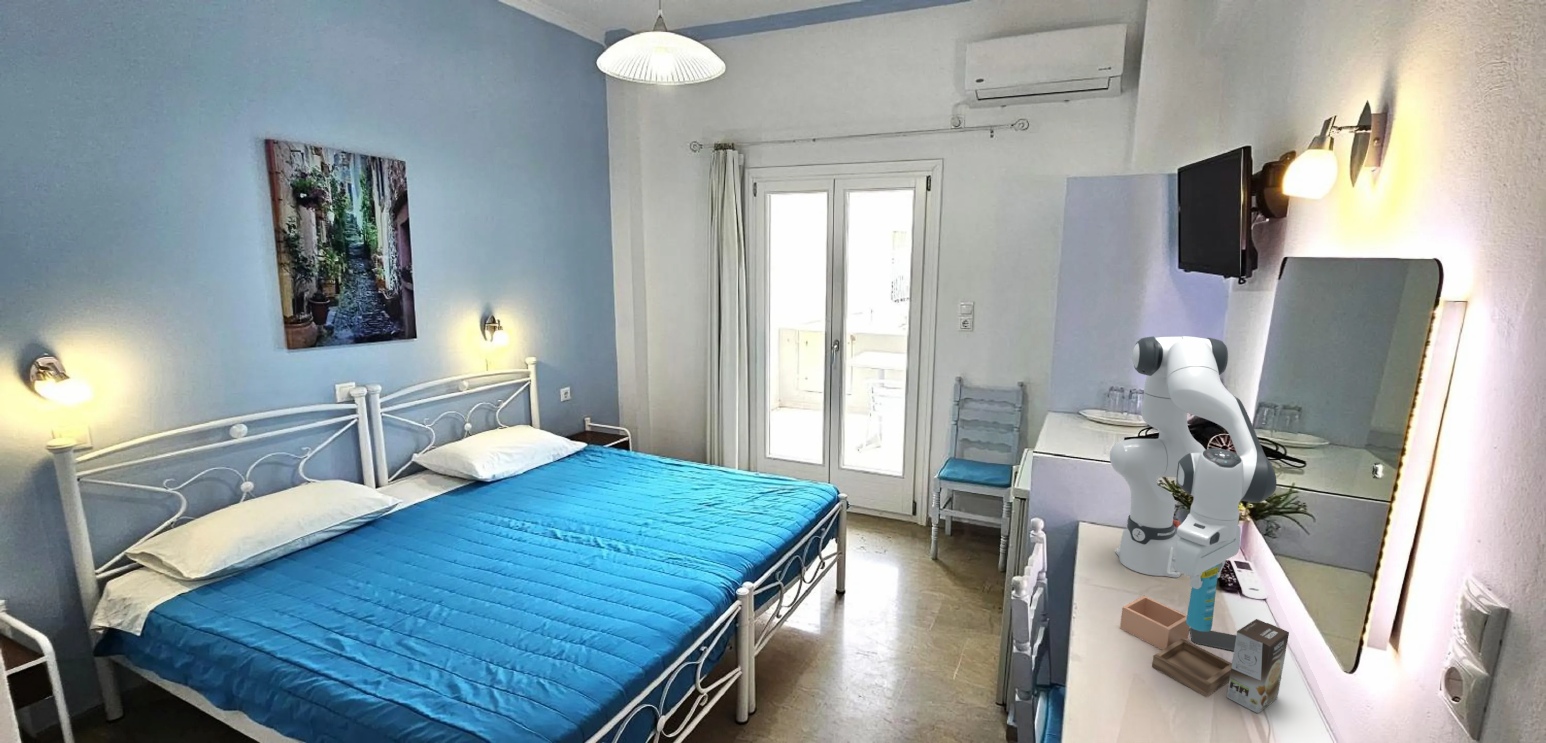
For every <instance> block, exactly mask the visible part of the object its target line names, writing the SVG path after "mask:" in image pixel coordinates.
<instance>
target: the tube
mask: <svg viewBox="0 0 1546 743" xmlns="http://www.w3.org/2000/svg"><path fill="white" fill-rule="evenodd" d="M1218 566H1219V564H1218V565H1216V566H1214V567H1212V568H1210V569H1208V570H1206V571H1204V572H1203V573H1202V575H1201V576H1200V578H1201V580H1202V581H1203V583H1202V587H1201V588H1199V589H1195V588H1193V587H1191V588H1190V595H1189V602H1188V608H1187V614H1186V615H1187V619H1186V623H1187V625H1188V626H1189V627H1191V628H1192V629H1195V630H1198V631H1204V632H1205V631H1206V632H1207V631H1210V630H1211V631H1212V628H1213V620H1214V619H1213V618H1214V612H1215V602H1216V601H1215V600H1216V595H1217V594H1216V592H1217V581H1218V578H1217V576H1218Z"/></svg>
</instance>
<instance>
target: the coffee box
mask: <svg viewBox="0 0 1546 743" xmlns="http://www.w3.org/2000/svg"><path fill="white" fill-rule="evenodd" d="M1289 634H1290V631H1287V630H1285V629H1284V628H1281V627H1279V626H1276V625H1273V624H1272V623H1269V622H1265V621H1263V620H1260V619H1258V618H1256V619H1254V620H1252V621H1251V622H1249V623H1248V624H1246V625H1244V626H1243V627H1241V628H1239V629H1238V630H1236V634H1235V635H1236V641H1235V647H1234V652H1232V653H1233V654H1232V661H1231V663H1232V666H1231V672H1230V679H1229V682H1228V686H1227V692H1226V698H1227V699H1229V700H1231V701H1233V702H1235V703H1236V704H1239V705H1241V706H1243V707H1244V708H1246V709H1248V710H1250V711H1252V712H1254V713H1256V714H1260V711H1261V712H1262V711H1263V710H1264V709H1265V708H1267V707H1268V706H1270V703H1271V702H1272V703H1273V702H1275V701H1276V700H1277V699H1278V698H1279V693H1280V687H1281V681H1282V675H1283V669H1284V664H1285V658H1286V652H1287V647H1288V642H1289V636H1290V635H1289ZM1275 699H1276V700H1275ZM1272 703H1271V704H1272Z"/></svg>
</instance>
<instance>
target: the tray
mask: <svg viewBox="0 0 1546 743" xmlns="http://www.w3.org/2000/svg"><path fill="white" fill-rule="evenodd" d="M1151 664H1152V666H1151V668H1153V669H1155V670H1156V671H1158V672H1160V673H1162V674H1164V675H1166V676H1167V677H1169V678H1171V679H1173V680H1174V681H1177V682H1179V683H1181V684H1182V685H1184V686H1185V687H1187V688H1190V689H1191V690H1193V691H1195V692H1197V693H1198V694H1200V695H1202V696H1204V697H1206V698H1207V697H1209V696H1211V695H1212V694H1213V693H1214V692H1216V691H1217V690H1219V689H1220V688H1222V687H1223V686H1225V685H1226V684H1227V683H1229V679H1230V672H1231V666H1232V661H1229V660H1227V659H1224V658H1222V657H1221V656H1219V655H1216V654H1215V653H1212V652H1210V651H1208V650H1206V649H1205V648H1202V647H1200V646H1199V645H1197V644H1195V643H1193V642H1190V641H1188V640H1184V639H1182V638H1181V639H1180V640H1178V641H1176V642H1175V643H1173V644H1171V645H1170V646H1168V647H1167V648H1165V649H1163V650H1160V651H1158V652H1156V653H1155V654H1154V655H1152V662H1151Z"/></svg>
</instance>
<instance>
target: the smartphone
mask: <svg viewBox="0 0 1546 743" xmlns="http://www.w3.org/2000/svg"><path fill="white" fill-rule="evenodd" d="M1189 635H1190V636H1189V637H1190V640H1191V643H1192V644H1194V645H1197V646H1204V647H1206V648H1207V647H1208V648H1213V649H1218V650H1222V651H1227V652H1231V653H1234V647H1235V641H1236V635H1237V634H1231V633H1226V632H1220V631H1216V630H1215V631H1214V630H1212V629H1211V630H1210V631H1207V632H1206V631H1205V632H1204V631H1198V630H1195V629H1192V628H1191V627H1190V628H1189Z"/></svg>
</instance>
